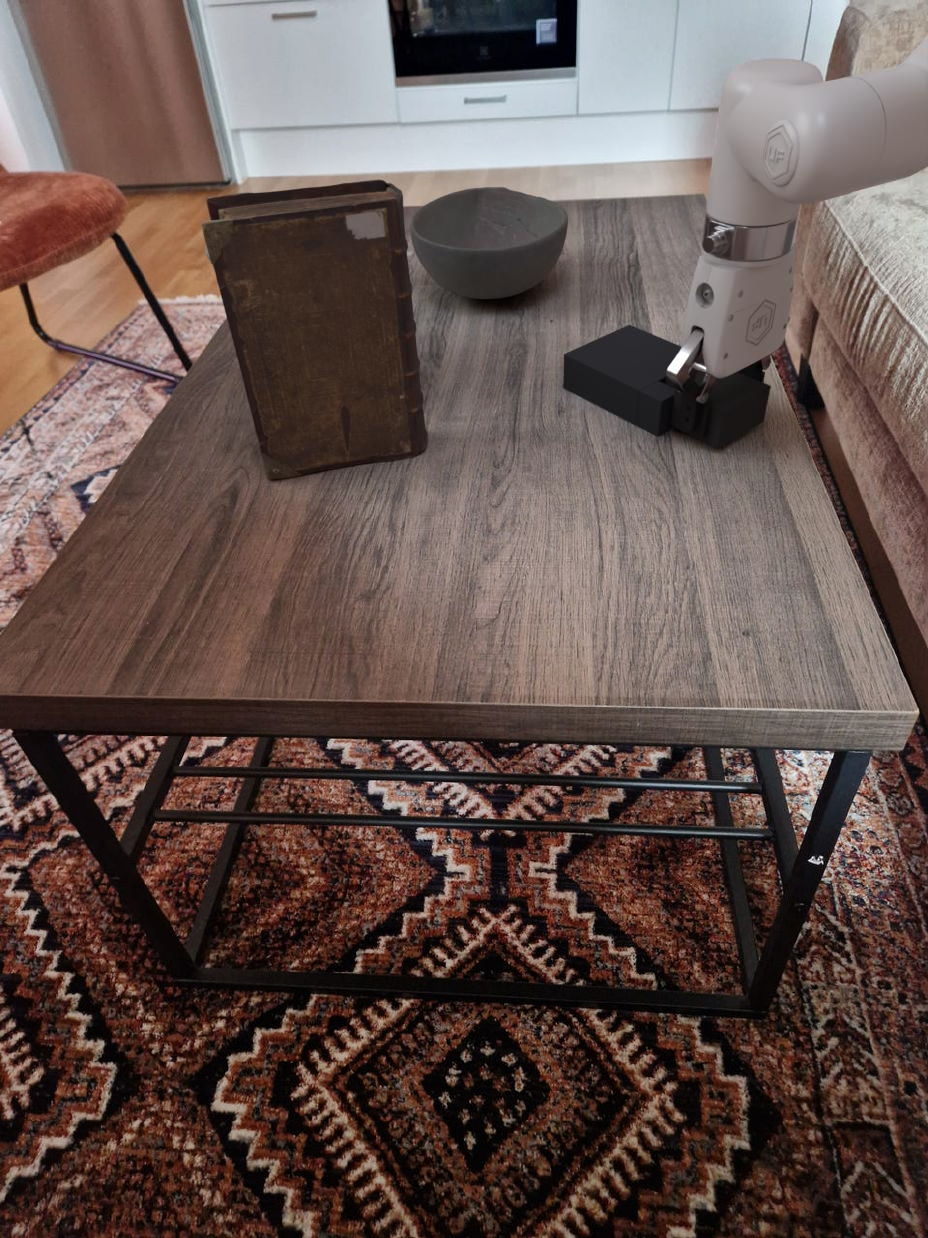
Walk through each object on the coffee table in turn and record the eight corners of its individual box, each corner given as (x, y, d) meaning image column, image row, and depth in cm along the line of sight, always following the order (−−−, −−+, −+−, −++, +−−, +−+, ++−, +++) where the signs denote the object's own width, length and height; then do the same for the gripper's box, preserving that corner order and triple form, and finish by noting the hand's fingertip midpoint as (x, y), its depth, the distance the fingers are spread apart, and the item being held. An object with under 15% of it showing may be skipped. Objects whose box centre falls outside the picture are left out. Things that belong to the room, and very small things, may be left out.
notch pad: (723, 401, 89) (728, 366, 87) (657, 436, 85) (661, 401, 83) (626, 357, 98) (629, 324, 95) (563, 387, 94) (563, 353, 91)
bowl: (395, 318, 109) (385, 239, 102) (443, 257, 123) (437, 183, 116) (548, 329, 104) (548, 246, 97) (580, 264, 118) (582, 187, 111)
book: (428, 429, 89) (400, 173, 72) (432, 467, 84) (403, 200, 67) (270, 445, 89) (204, 192, 72) (264, 484, 84) (192, 221, 67)
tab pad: (763, 421, 85) (771, 385, 82) (717, 448, 82) (723, 411, 79) (695, 390, 90) (700, 355, 87) (649, 414, 87) (653, 378, 84)
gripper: (715, 276, 66) (688, 467, 79) (848, 216, 73) (804, 400, 86) (644, 251, 71) (629, 435, 83) (776, 197, 78) (744, 374, 90)
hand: (718, 416), depth 84 cm, fingers closed on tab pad, 7 cm apart
